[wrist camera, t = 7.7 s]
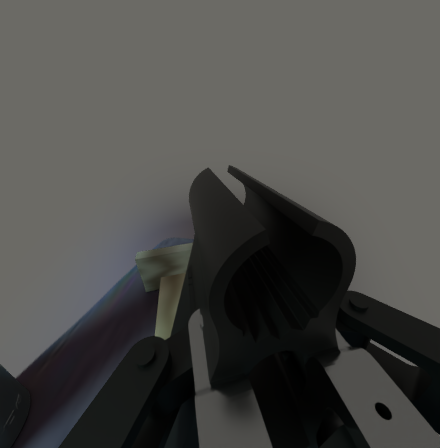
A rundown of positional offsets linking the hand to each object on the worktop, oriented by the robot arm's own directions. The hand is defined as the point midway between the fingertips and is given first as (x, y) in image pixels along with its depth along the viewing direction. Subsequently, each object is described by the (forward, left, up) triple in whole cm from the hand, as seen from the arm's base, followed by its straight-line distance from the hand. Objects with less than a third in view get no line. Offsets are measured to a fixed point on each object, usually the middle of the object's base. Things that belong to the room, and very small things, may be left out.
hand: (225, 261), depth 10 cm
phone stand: (0, -3, -7) cm, 8 cm away
